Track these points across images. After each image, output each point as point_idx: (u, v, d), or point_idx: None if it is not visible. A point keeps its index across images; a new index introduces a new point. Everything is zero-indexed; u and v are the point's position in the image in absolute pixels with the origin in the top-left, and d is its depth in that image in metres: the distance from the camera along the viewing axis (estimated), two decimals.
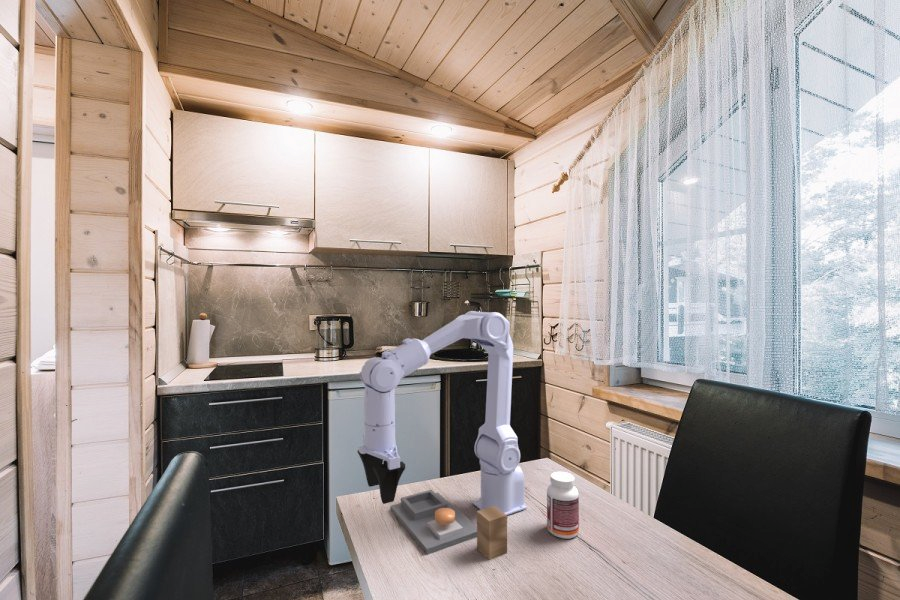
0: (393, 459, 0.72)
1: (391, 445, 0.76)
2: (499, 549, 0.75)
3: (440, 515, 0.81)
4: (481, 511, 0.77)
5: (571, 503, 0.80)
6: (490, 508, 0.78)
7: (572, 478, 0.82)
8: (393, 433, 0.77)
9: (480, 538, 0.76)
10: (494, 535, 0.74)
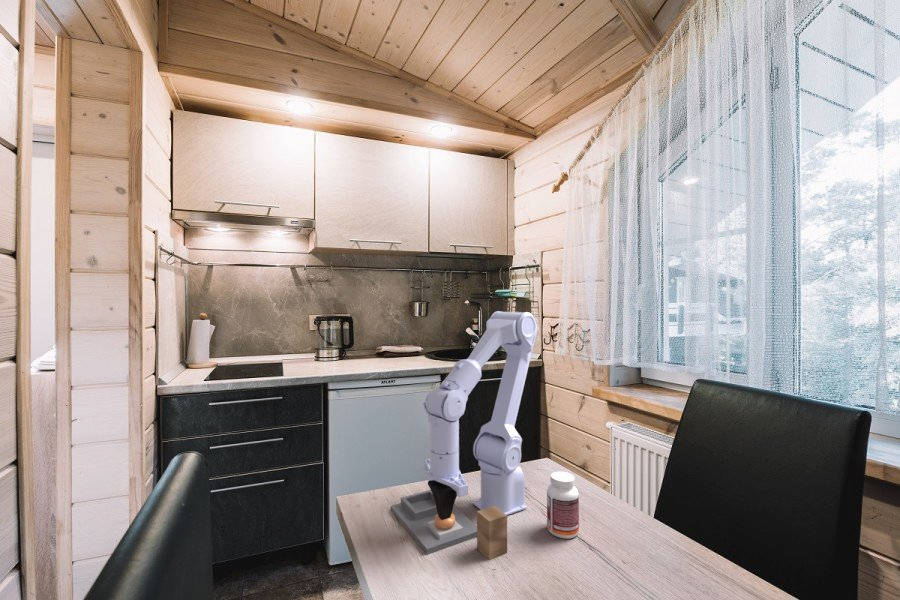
0: (462, 487, 0.75)
1: (456, 472, 0.80)
2: (499, 549, 0.75)
3: (440, 520, 0.81)
4: (481, 511, 0.77)
5: (571, 503, 0.80)
6: (490, 508, 0.78)
7: (572, 478, 0.82)
8: (458, 460, 0.81)
9: (480, 538, 0.76)
10: (494, 535, 0.74)
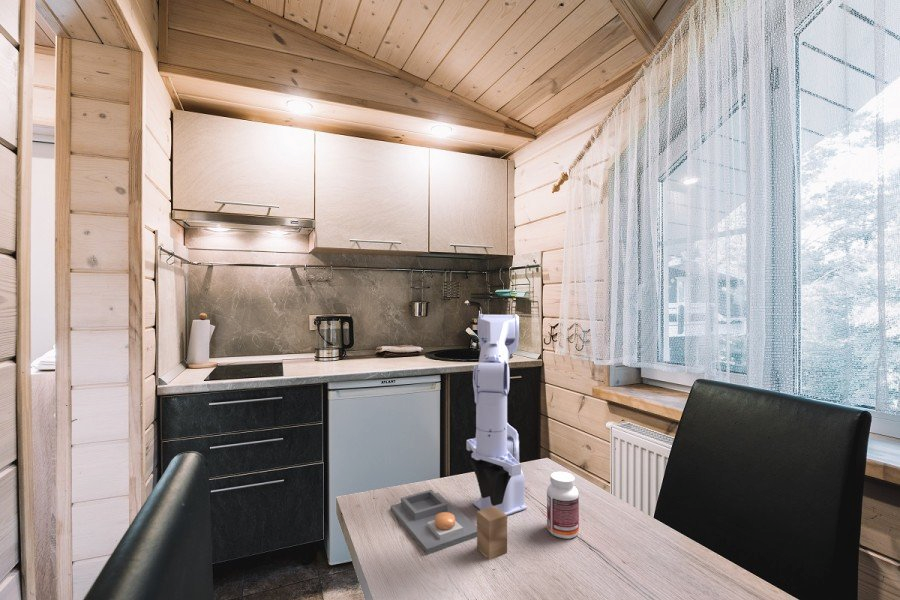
0: (515, 466, 0.70)
1: (505, 451, 0.75)
2: (499, 549, 0.75)
3: (440, 520, 0.81)
4: (481, 511, 0.77)
5: (571, 503, 0.80)
6: (490, 508, 0.78)
7: (572, 478, 0.82)
8: (506, 439, 0.75)
9: (480, 538, 0.76)
10: (494, 535, 0.74)
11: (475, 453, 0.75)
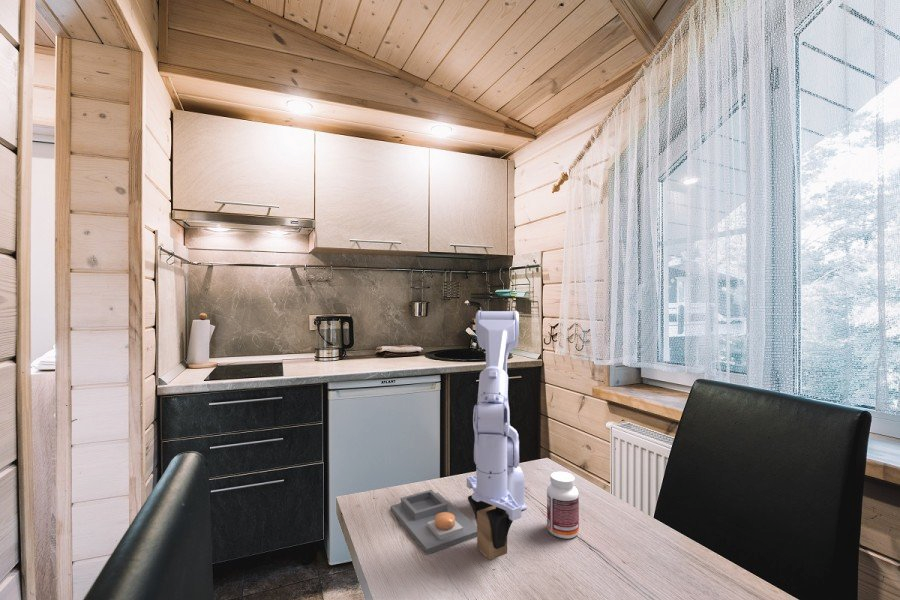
0: (515, 510, 0.70)
1: (505, 493, 0.75)
2: (499, 549, 0.75)
3: (440, 520, 0.81)
4: (481, 511, 0.77)
5: (571, 503, 0.80)
6: (490, 508, 0.78)
7: (572, 478, 0.82)
8: (506, 479, 0.75)
9: (480, 538, 0.76)
10: None
11: (475, 494, 0.75)
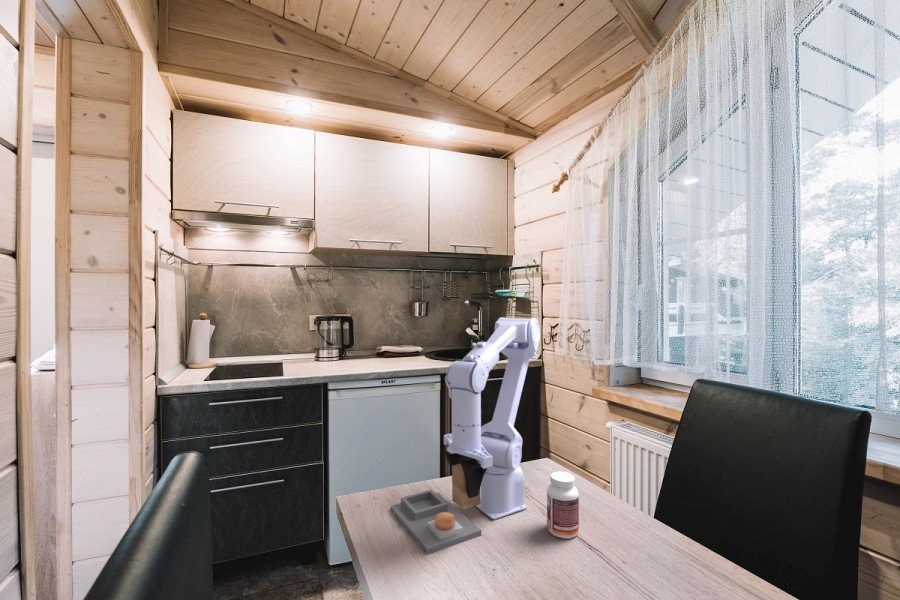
0: (487, 458, 0.74)
1: (479, 445, 0.79)
2: (473, 500, 0.79)
3: (440, 520, 0.81)
4: (456, 465, 0.81)
5: (571, 503, 0.80)
6: None
7: (572, 478, 0.82)
8: (480, 433, 0.80)
9: (455, 490, 0.81)
10: None
11: (450, 447, 0.80)
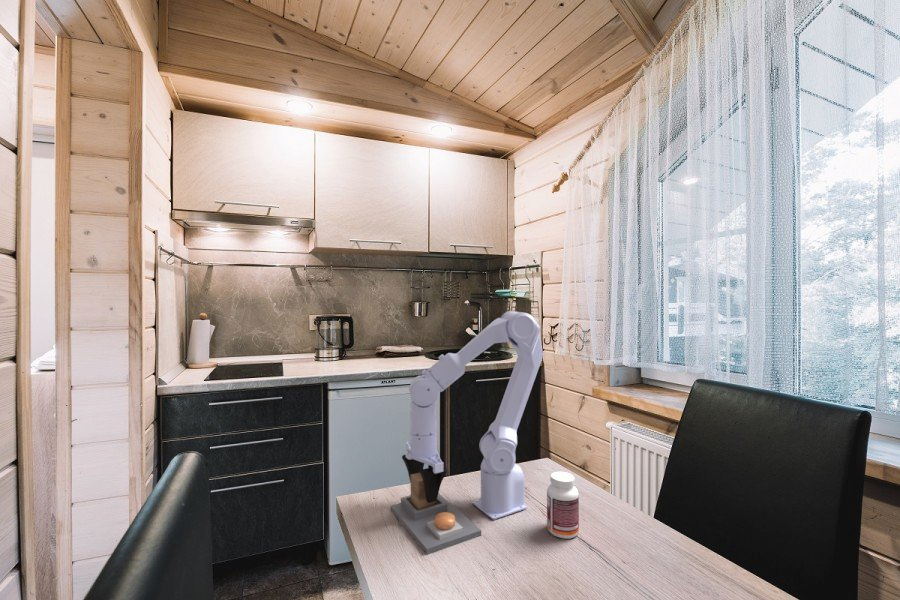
0: (438, 464, 0.83)
1: (433, 452, 0.88)
2: (428, 506, 0.88)
3: (440, 520, 0.81)
4: (414, 474, 0.91)
5: (571, 503, 0.80)
6: None
7: (572, 478, 0.82)
8: (435, 441, 0.89)
9: (412, 497, 0.90)
10: (423, 494, 0.88)
11: (408, 454, 0.89)
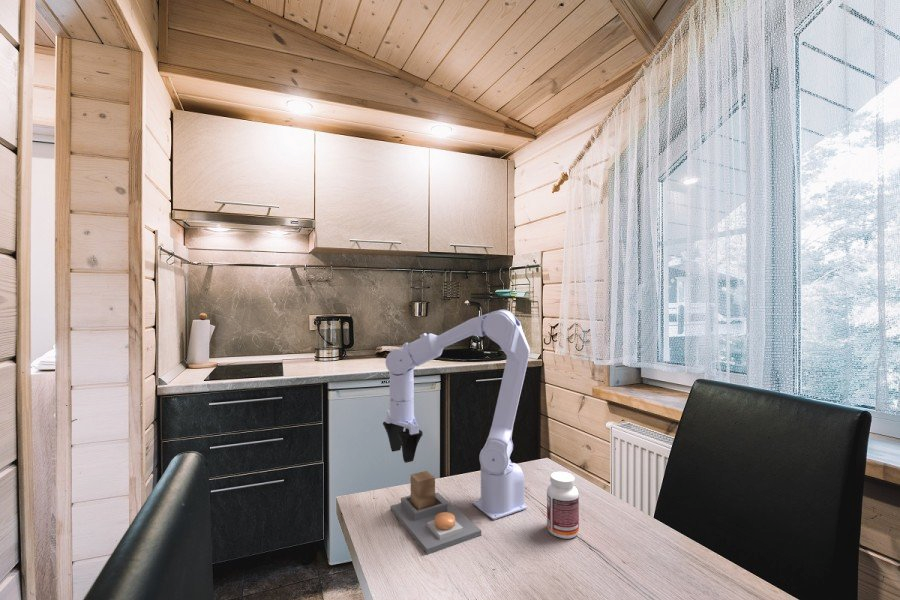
0: (413, 426, 0.91)
1: (411, 417, 0.96)
2: (428, 506, 0.88)
3: (440, 520, 0.81)
4: (414, 474, 0.91)
5: (571, 503, 0.80)
6: (422, 472, 0.92)
7: (572, 478, 0.82)
8: (412, 407, 0.97)
9: (412, 497, 0.90)
10: (423, 494, 0.88)
11: (388, 418, 0.96)
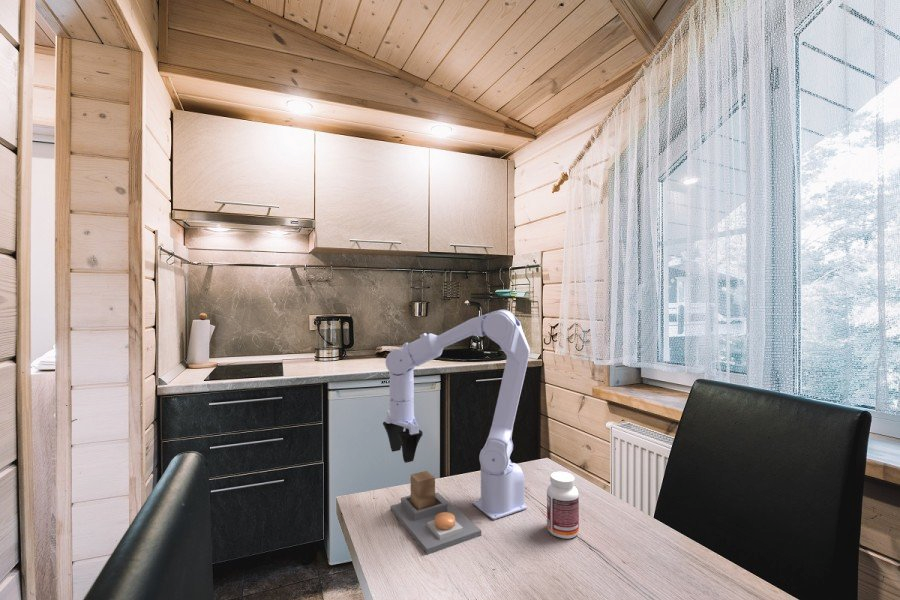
0: (413, 426, 0.91)
1: (411, 417, 0.96)
2: (428, 506, 0.88)
3: (440, 520, 0.81)
4: (414, 474, 0.91)
5: (571, 503, 0.80)
6: (422, 472, 0.92)
7: (572, 478, 0.82)
8: (412, 407, 0.97)
9: (412, 497, 0.90)
10: (423, 494, 0.88)
11: (388, 418, 0.96)
